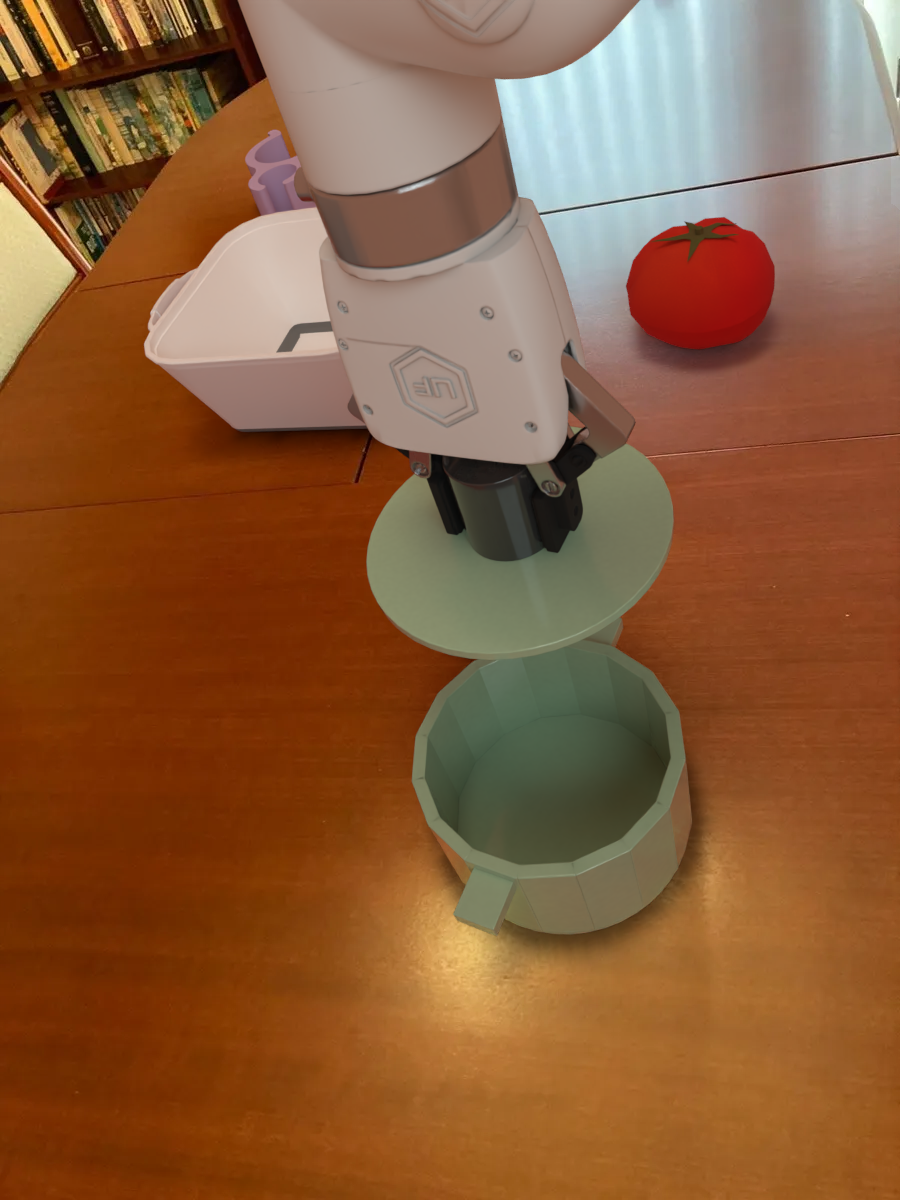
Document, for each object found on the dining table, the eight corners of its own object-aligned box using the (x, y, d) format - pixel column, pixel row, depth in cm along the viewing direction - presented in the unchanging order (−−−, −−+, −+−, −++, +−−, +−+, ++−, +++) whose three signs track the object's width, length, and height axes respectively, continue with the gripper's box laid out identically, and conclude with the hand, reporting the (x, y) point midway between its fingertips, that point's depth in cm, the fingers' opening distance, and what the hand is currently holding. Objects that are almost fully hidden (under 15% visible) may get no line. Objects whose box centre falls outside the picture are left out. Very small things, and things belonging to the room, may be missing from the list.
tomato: (794, 304, 84) (798, 197, 76) (744, 384, 79) (744, 277, 71) (664, 290, 91) (656, 191, 83) (610, 362, 86) (596, 263, 78)
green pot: (729, 708, 59) (727, 631, 52) (631, 1022, 48) (614, 973, 42) (516, 659, 66) (492, 586, 59) (390, 924, 55) (345, 869, 49)
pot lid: (714, 457, 48) (709, 354, 43) (611, 703, 40) (591, 610, 35) (451, 427, 56) (422, 338, 51) (319, 628, 48) (269, 544, 43)
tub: (158, 466, 94) (92, 367, 84) (254, 318, 109) (208, 220, 100) (456, 463, 82) (419, 347, 72) (517, 297, 97) (492, 183, 88)
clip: (335, 225, 120) (317, 175, 115) (251, 246, 123) (229, 198, 118) (349, 160, 133) (333, 113, 128) (273, 180, 136) (254, 134, 130)
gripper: (195, 246, 36) (348, 549, 49) (592, 247, 28) (645, 608, 41) (292, 154, 39) (409, 459, 53) (665, 131, 31) (692, 497, 45)
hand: (512, 521), depth 47 cm, fingers closed on pot lid, 5 cm apart
